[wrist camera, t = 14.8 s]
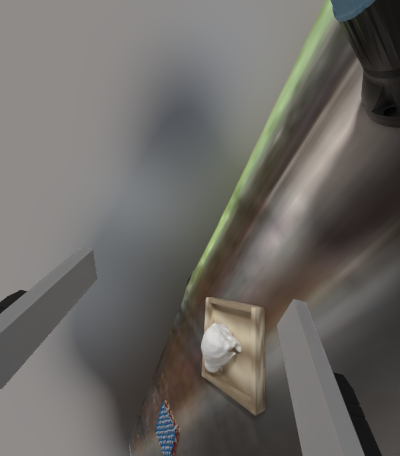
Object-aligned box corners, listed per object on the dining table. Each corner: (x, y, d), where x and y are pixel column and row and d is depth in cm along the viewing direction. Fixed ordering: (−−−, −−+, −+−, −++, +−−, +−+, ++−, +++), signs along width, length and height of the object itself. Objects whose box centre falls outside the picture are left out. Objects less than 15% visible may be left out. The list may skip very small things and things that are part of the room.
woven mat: (174, 466, 54) (167, 470, 53) (159, 429, 62) (153, 431, 61) (182, 429, 54) (176, 432, 53) (167, 397, 63) (161, 399, 62)
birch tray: (214, 297, 53) (206, 297, 51) (264, 307, 40) (255, 308, 39) (211, 372, 49) (201, 375, 47) (265, 409, 36) (255, 415, 35)
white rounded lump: (217, 350, 36) (196, 390, 40) (249, 341, 41) (228, 377, 44) (202, 322, 41) (185, 360, 45) (232, 317, 46) (214, 351, 49)
